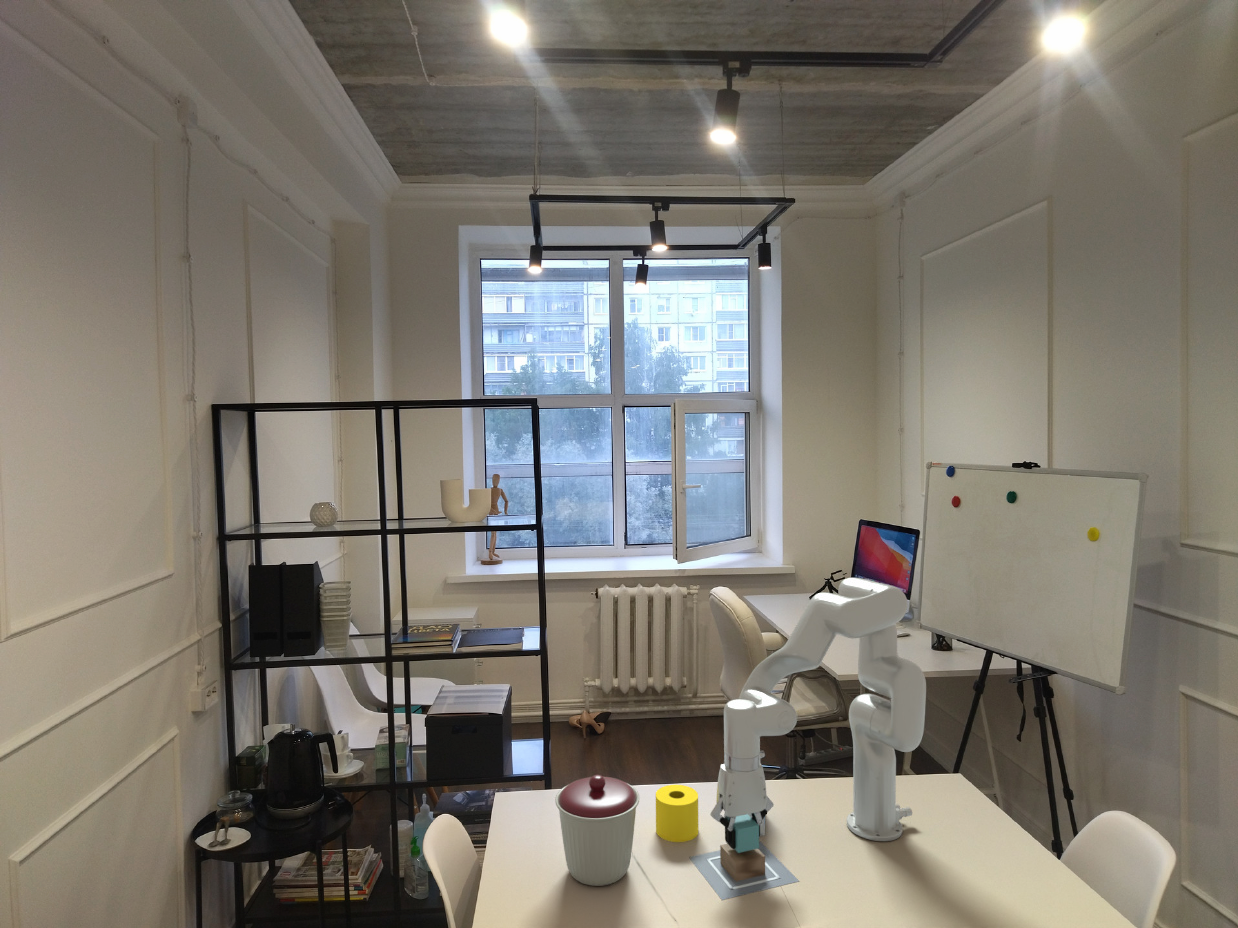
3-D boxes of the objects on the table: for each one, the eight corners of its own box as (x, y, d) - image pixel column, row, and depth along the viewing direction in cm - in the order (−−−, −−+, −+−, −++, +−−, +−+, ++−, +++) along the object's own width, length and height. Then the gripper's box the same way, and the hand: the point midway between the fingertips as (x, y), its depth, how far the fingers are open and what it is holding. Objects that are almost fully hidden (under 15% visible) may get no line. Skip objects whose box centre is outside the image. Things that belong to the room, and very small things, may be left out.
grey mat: (760, 844, 169) (760, 840, 169) (799, 884, 154) (799, 880, 154) (688, 860, 163) (688, 856, 163) (721, 903, 148) (721, 899, 148)
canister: (565, 904, 149) (564, 802, 148) (549, 855, 166) (548, 763, 165) (651, 888, 153) (650, 789, 152) (627, 842, 171) (625, 753, 170)
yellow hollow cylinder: (698, 823, 179) (698, 785, 178) (698, 846, 169) (698, 805, 168) (657, 821, 180) (656, 783, 179) (654, 844, 170) (654, 804, 170)
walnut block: (748, 856, 163) (748, 838, 163) (765, 874, 156) (765, 855, 156) (720, 862, 161) (720, 844, 161) (735, 881, 154) (735, 862, 154)
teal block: (747, 835, 162) (747, 813, 161) (759, 848, 157) (758, 825, 157) (726, 840, 160) (726, 817, 160) (738, 852, 155) (737, 829, 155)
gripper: (767, 746, 164) (768, 826, 165) (698, 758, 158) (699, 841, 159) (786, 760, 157) (786, 844, 158) (713, 773, 151) (714, 860, 152)
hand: (742, 841), depth 158 cm, fingers closed on teal block, 4 cm apart
